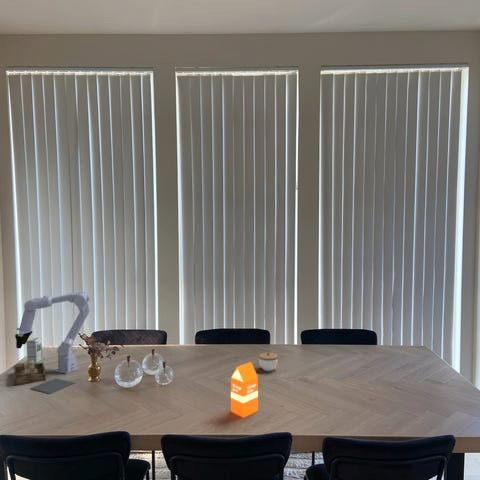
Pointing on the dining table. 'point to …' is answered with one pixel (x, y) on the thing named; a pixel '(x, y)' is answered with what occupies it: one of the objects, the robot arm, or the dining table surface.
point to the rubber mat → (52, 386)
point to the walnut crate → (29, 374)
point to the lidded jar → (268, 361)
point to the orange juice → (244, 390)
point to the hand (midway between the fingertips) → (20, 346)
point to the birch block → (29, 366)
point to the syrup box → (34, 350)
